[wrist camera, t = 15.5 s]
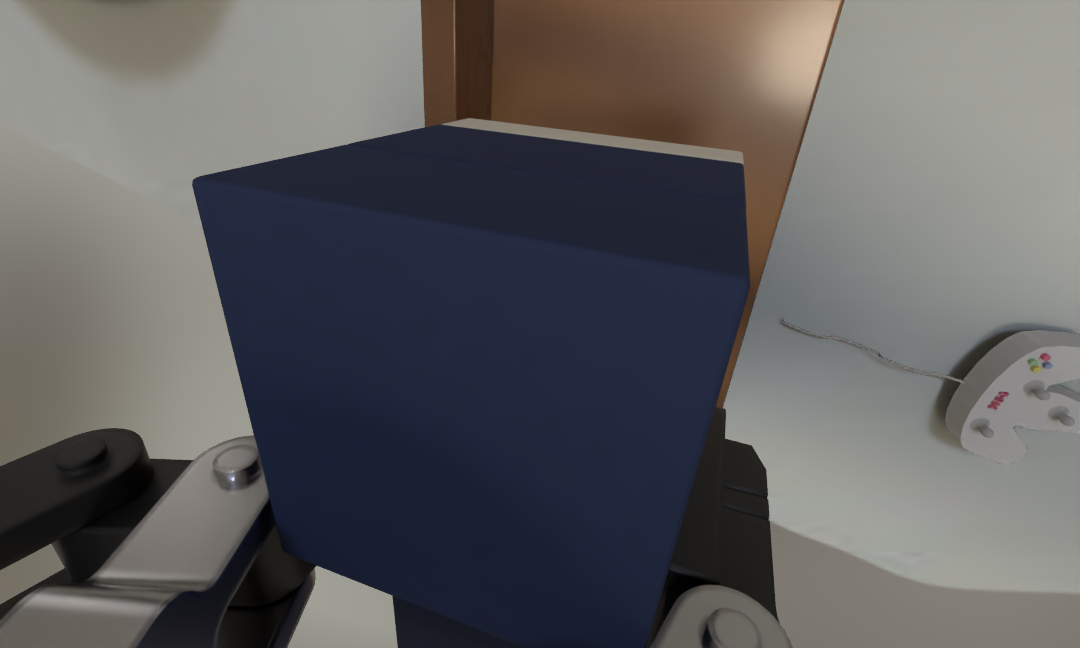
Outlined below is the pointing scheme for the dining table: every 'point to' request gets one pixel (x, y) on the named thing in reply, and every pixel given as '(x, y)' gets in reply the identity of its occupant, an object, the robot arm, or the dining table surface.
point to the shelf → (643, 81)
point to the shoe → (485, 365)
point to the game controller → (1011, 392)
